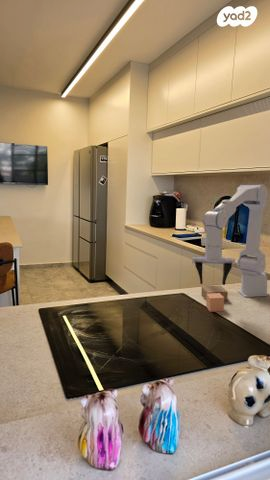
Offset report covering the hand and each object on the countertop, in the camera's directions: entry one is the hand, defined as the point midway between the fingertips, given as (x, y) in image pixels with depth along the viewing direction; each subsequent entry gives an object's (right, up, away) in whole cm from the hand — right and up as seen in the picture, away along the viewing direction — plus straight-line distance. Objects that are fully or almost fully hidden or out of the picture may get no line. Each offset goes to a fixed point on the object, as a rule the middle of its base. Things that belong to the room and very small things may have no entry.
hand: (212, 283), depth 116 cm
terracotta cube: (+2, -10, +3) cm, 10 cm away
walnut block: (+4, -8, +14) cm, 17 cm away
